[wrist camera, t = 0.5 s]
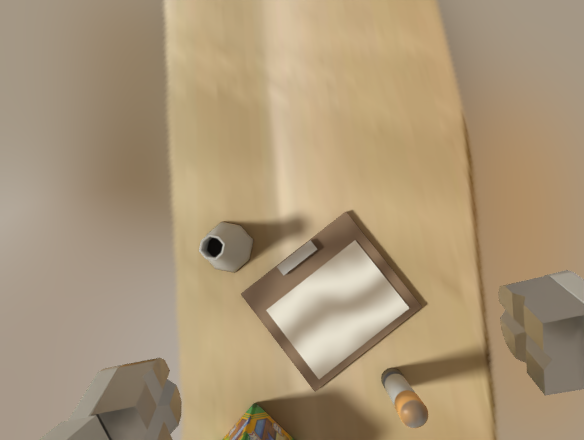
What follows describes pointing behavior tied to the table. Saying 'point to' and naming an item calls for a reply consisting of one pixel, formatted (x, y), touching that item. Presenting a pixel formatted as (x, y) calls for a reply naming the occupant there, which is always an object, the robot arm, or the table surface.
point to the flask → (227, 247)
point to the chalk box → (257, 427)
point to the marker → (404, 399)
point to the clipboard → (331, 301)
